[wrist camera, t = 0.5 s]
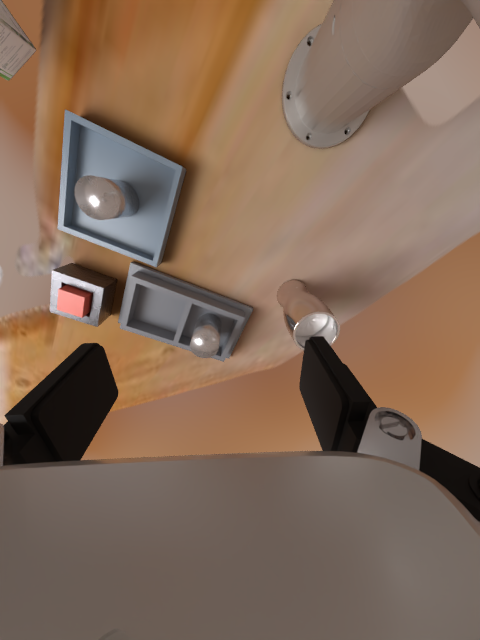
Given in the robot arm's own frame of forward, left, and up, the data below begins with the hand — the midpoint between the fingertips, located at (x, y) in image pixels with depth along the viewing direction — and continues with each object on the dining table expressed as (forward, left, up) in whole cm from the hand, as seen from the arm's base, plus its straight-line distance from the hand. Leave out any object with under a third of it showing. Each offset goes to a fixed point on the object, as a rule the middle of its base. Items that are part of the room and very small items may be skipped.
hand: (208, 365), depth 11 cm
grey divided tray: (+16, -3, -34) cm, 37 cm away
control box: (+18, -21, -34) cm, 43 cm away
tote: (0, -18, -34) cm, 38 cm away
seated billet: (+16, +2, -33) cm, 36 cm away
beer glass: (+4, +15, -34) cm, 37 cm away
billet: (0, -18, -33) cm, 37 cm away
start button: (+18, -21, -30) cm, 40 cm away
